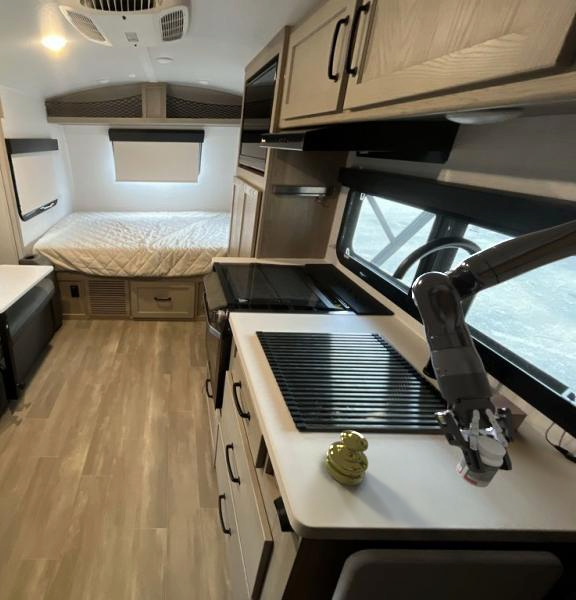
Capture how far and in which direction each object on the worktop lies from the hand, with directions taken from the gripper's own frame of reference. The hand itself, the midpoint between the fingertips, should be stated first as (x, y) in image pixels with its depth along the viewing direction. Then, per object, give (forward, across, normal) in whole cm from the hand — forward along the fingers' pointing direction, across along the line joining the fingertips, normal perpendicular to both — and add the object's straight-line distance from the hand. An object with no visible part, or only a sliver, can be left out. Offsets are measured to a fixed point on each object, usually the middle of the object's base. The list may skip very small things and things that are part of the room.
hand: (491, 470), depth 59 cm
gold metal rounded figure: (+1, -19, +15) cm, 24 cm away
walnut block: (-6, +28, +22) cm, 36 cm away
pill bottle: (+2, 0, +4) cm, 5 cm away
